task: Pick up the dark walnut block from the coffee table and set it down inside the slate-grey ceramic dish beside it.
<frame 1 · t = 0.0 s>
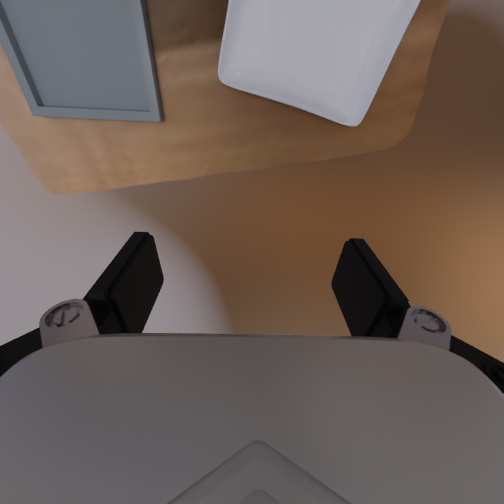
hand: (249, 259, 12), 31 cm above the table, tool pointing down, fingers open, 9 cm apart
slate dish: (80, 36, 29), on the table
salad plate: (317, 8, 29), on the table
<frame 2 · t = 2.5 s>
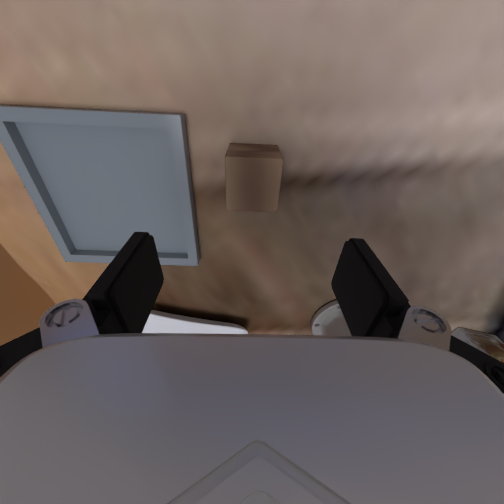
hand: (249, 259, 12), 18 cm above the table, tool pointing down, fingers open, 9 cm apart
slate dish: (119, 196, 28), on the table
walnut block: (252, 167, 26), on the table
coffee box: (463, 338, 45), on the table
salad plate: (184, 339, 46), on the table
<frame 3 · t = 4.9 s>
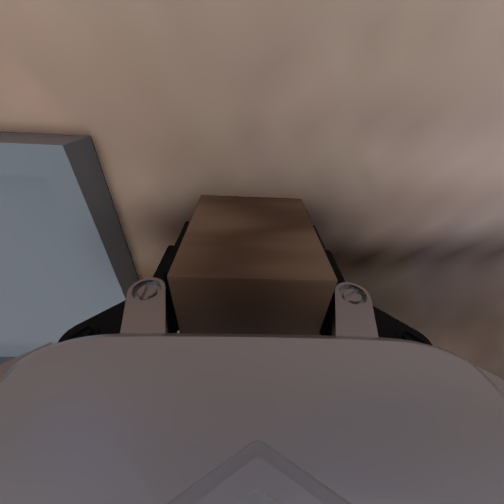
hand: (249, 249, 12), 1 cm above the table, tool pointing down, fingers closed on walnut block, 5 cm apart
walnut block: (249, 238, 13), on the table, touching gripper
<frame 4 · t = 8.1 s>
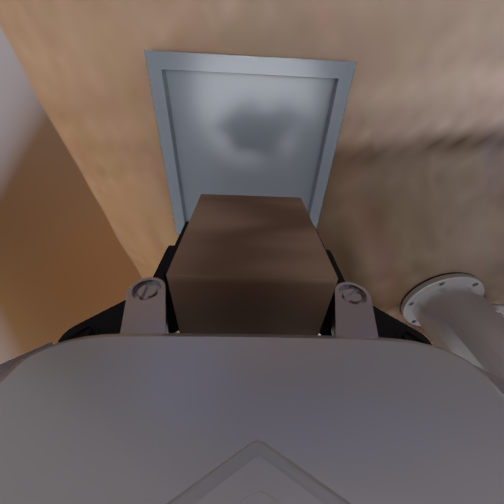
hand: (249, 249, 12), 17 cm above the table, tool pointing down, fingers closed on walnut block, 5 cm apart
slate dish: (248, 160, 26), on the table
walnut block: (249, 237, 13), point 16 cm above the table, touching gripper
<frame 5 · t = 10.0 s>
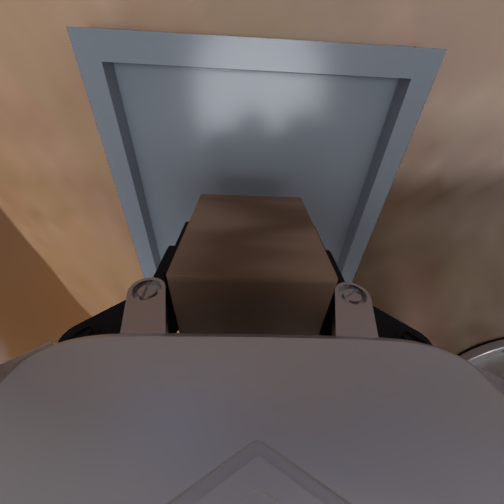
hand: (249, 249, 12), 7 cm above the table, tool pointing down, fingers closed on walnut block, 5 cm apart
slate dish: (252, 201, 18), on the table
walnut block: (249, 237, 13), point 6 cm above the table, touching gripper
when the fingers open (3 cm above the table, at t = 11.6 s): walnut block stays where it is, resting on slate dish.
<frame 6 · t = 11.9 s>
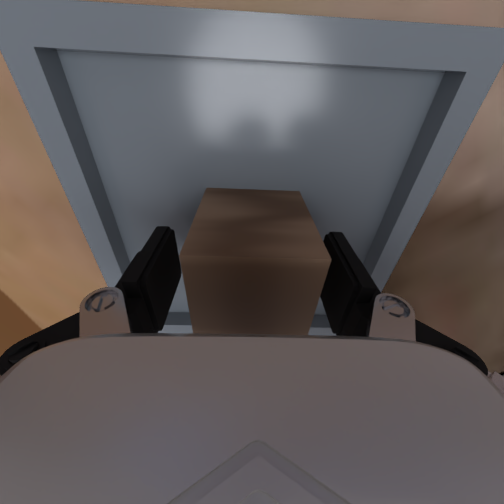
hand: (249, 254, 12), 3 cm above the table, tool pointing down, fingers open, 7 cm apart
slate dish: (249, 224, 14), on the table
walnut block: (251, 229, 14), point 1 cm above the table, touching slate dish
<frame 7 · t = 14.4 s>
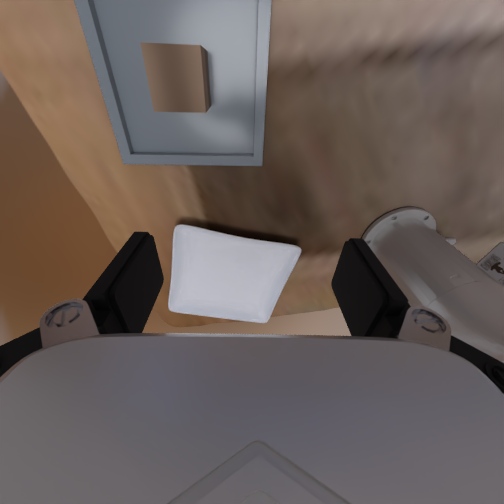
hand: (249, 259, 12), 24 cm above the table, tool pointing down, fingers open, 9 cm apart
slate dish: (186, 79, 26), on the table
walnut block: (186, 79, 26), point 1 cm above the table, touching slate dish
coffee box: (502, 257, 46), on the table
salad plate: (229, 270, 45), on the table
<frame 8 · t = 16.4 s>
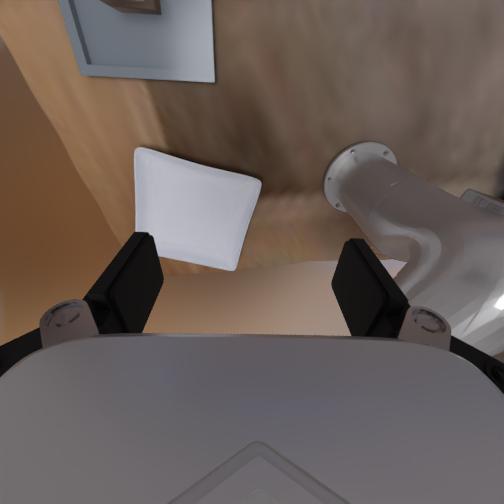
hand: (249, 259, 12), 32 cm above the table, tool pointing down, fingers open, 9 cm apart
coffee box: (472, 208, 46), on the table
salad plate: (196, 211, 46), on the table
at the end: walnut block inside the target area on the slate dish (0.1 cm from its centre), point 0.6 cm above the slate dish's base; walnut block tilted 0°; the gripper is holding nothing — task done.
